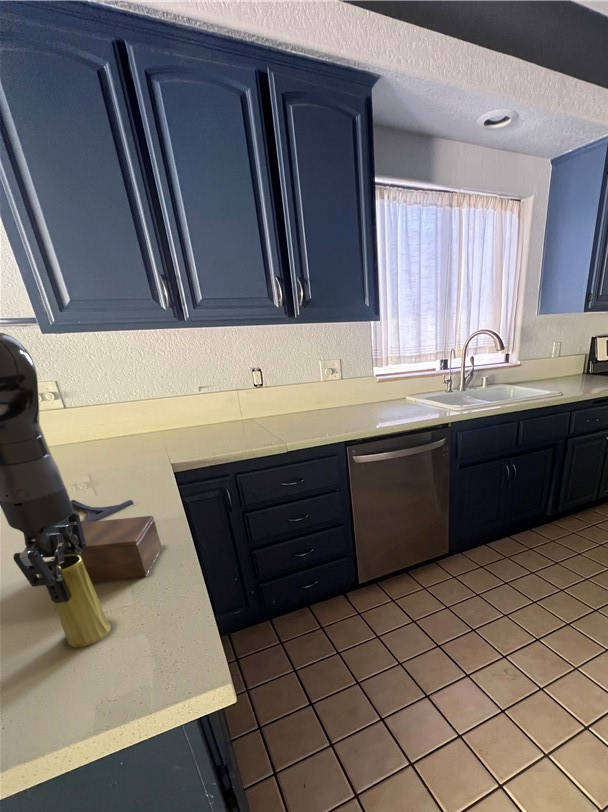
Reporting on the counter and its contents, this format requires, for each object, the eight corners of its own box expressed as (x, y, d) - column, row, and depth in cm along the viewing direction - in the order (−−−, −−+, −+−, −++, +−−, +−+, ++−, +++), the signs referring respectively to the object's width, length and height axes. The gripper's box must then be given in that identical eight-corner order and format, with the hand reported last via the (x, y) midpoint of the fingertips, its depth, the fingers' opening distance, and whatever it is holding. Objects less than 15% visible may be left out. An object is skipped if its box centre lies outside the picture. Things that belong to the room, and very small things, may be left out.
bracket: (95, 499, 123) (92, 490, 122) (134, 505, 118) (131, 496, 117) (45, 520, 111) (41, 510, 110) (86, 528, 106) (82, 518, 105)
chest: (66, 588, 83) (52, 553, 80) (91, 557, 93) (79, 526, 90) (147, 578, 85) (137, 544, 82) (162, 550, 96) (153, 519, 92)
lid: (48, 554, 79) (46, 550, 79) (75, 526, 90) (74, 523, 89) (137, 544, 82) (135, 541, 82) (153, 518, 92) (152, 515, 92)
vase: (97, 620, 74) (69, 549, 68) (119, 630, 72) (93, 557, 65) (60, 642, 69) (27, 568, 63) (83, 654, 67) (51, 578, 60)
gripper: (28, 473, 65) (66, 568, 72) (-35, 513, 52) (18, 623, 59) (83, 469, 66) (114, 562, 73) (34, 507, 53) (78, 615, 61)
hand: (71, 589), depth 66 cm, fingers closed on vase, 5 cm apart
